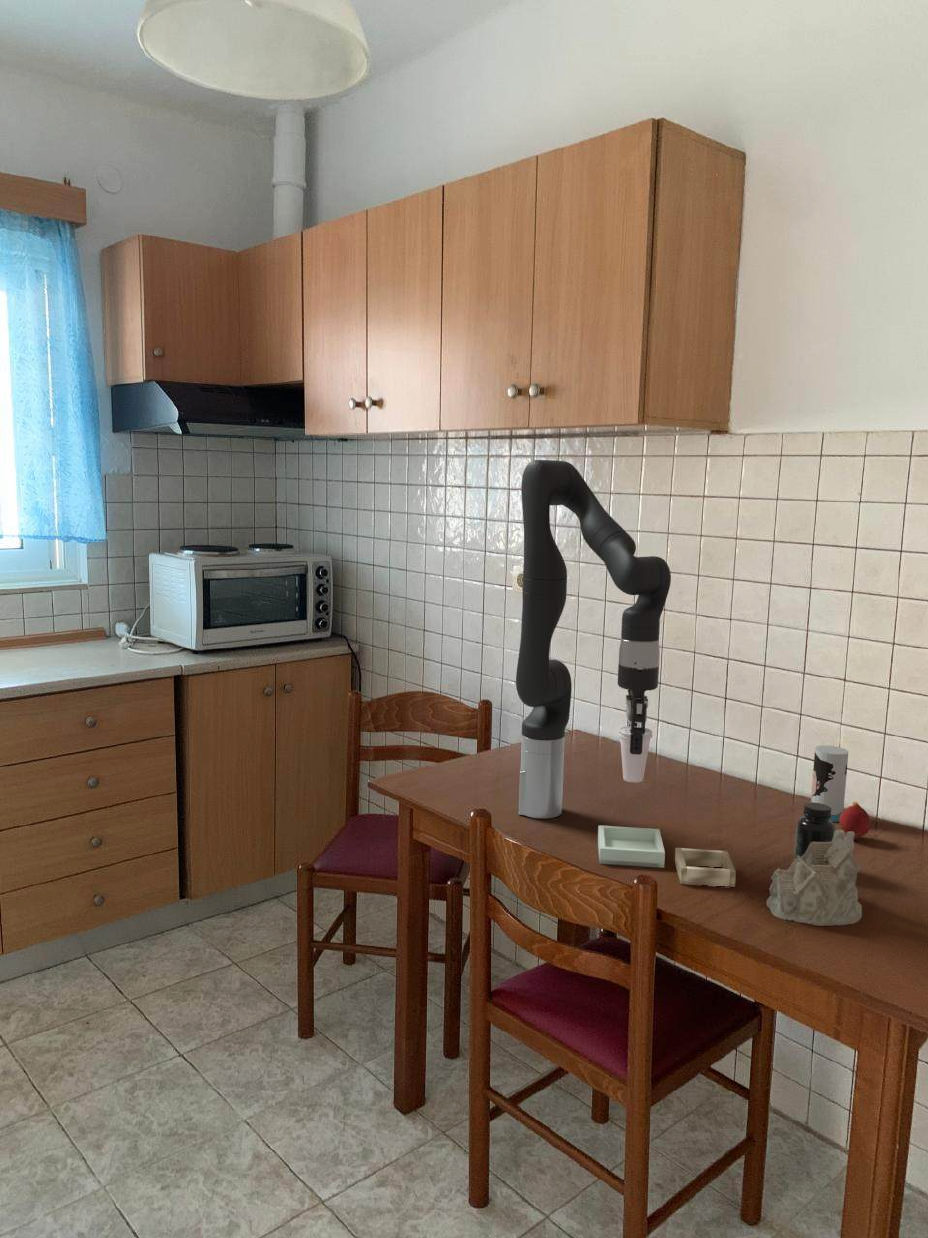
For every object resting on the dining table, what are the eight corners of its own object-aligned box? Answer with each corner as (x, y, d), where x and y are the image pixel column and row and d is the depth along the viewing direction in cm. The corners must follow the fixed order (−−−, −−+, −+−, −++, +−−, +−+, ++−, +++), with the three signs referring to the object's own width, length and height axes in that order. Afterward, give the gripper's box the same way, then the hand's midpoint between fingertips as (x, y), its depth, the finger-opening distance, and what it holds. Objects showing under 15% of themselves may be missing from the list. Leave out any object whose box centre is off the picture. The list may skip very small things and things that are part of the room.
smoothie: (650, 786, 174) (653, 713, 172) (615, 783, 175) (618, 711, 173) (650, 775, 180) (653, 705, 178) (616, 773, 181) (620, 703, 179)
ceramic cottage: (848, 887, 166) (850, 808, 163) (871, 934, 150) (874, 847, 148) (758, 884, 169) (758, 806, 166) (771, 929, 153) (771, 844, 150)
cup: (835, 811, 206) (841, 745, 203) (847, 822, 199) (853, 754, 197) (805, 810, 206) (810, 745, 203) (816, 821, 199) (821, 754, 197)
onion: (867, 836, 191) (871, 799, 190) (870, 846, 186) (873, 808, 184) (837, 832, 193) (840, 795, 192) (838, 842, 187) (842, 804, 186)
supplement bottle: (827, 878, 170) (833, 815, 168) (789, 869, 174) (794, 808, 172) (835, 865, 176) (840, 804, 174) (797, 857, 180) (802, 797, 178)
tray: (599, 863, 174) (600, 848, 174) (597, 839, 186) (598, 825, 186) (664, 868, 173) (665, 852, 173) (658, 843, 185) (659, 829, 184)
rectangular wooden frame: (680, 884, 166) (681, 868, 166) (674, 862, 176) (675, 847, 175) (734, 887, 165) (735, 871, 165) (726, 866, 174) (727, 851, 174)
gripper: (616, 654, 182) (613, 737, 184) (620, 669, 168) (616, 758, 170) (655, 656, 181) (651, 739, 183) (662, 671, 167) (657, 760, 169)
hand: (634, 748), depth 177 cm, fingers closed on smoothie, 6 cm apart
